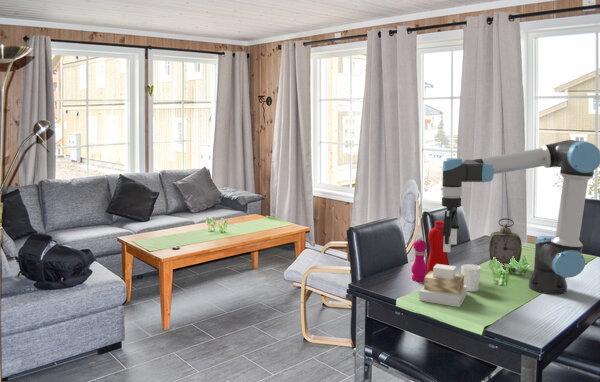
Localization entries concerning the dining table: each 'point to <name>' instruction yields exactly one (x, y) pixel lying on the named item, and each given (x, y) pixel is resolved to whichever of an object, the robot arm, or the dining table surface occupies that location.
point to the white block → (444, 271)
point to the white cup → (471, 276)
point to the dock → (443, 297)
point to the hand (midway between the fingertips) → (450, 247)
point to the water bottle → (436, 247)
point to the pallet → (444, 283)
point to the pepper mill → (419, 260)
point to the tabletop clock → (505, 244)
